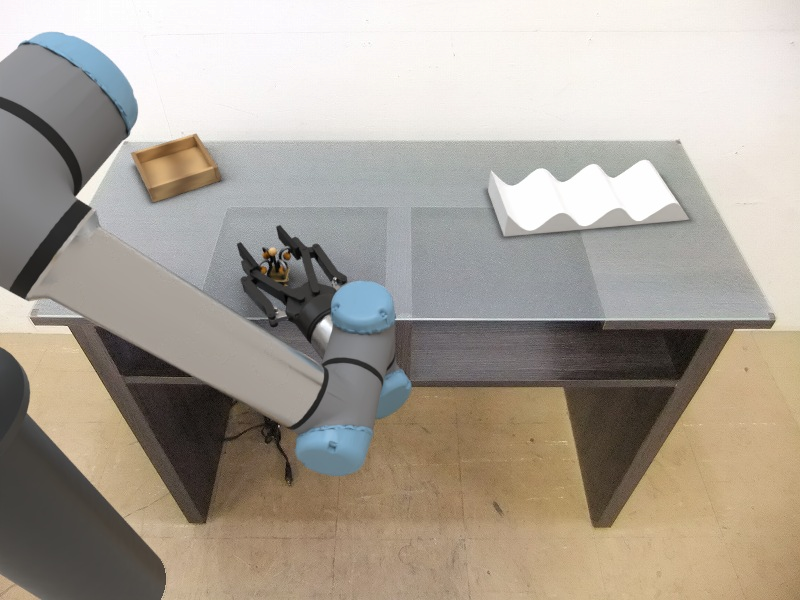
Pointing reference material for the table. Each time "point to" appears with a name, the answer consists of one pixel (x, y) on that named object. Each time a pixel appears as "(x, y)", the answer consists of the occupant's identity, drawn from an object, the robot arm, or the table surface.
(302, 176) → the table surface
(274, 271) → the gold potted plant ornament
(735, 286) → the table surface
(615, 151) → the table surface
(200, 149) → the tray
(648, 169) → the white wavy block
